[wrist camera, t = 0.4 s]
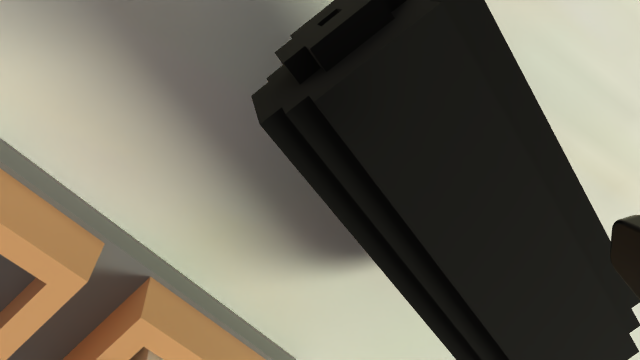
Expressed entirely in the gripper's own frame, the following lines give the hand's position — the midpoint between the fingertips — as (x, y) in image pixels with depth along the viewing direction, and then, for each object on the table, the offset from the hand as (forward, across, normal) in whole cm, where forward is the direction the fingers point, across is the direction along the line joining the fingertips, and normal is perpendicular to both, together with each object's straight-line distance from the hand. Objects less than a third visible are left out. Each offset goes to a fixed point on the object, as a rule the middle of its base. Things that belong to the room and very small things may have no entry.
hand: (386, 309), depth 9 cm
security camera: (+15, -5, +5) cm, 16 cm away
